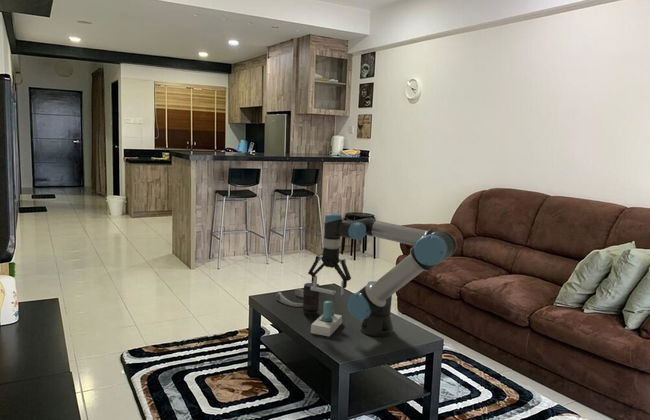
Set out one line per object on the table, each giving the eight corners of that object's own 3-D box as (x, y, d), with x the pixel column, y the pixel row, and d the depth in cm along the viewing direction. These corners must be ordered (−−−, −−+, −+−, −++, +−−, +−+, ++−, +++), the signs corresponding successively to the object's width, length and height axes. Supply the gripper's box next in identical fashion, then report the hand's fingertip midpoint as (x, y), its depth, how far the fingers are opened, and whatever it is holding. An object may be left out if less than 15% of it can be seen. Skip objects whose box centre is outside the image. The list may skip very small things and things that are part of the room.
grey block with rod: (341, 323, 240) (343, 295, 238) (329, 336, 224) (331, 306, 222) (324, 320, 243) (325, 292, 241) (310, 332, 226) (312, 302, 224)
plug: (333, 323, 235) (335, 301, 233) (330, 327, 230) (331, 304, 228) (323, 321, 236) (324, 299, 235) (319, 325, 232) (321, 302, 230)
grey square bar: (334, 295, 236) (334, 292, 236) (309, 290, 242) (310, 287, 242) (336, 294, 238) (336, 290, 238) (312, 289, 244) (312, 286, 244)
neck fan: (319, 303, 269) (320, 294, 268) (296, 309, 257) (296, 300, 256) (298, 295, 282) (298, 286, 281) (274, 300, 270) (274, 291, 269)
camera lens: (319, 311, 256) (320, 283, 254) (317, 316, 248) (319, 287, 246) (303, 309, 256) (305, 281, 254) (301, 315, 248) (302, 286, 246)
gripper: (359, 249, 228) (356, 294, 231) (308, 242, 236) (306, 285, 239) (355, 252, 221) (351, 298, 224) (302, 245, 229) (300, 289, 232)
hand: (328, 292), depth 231 cm, fingers open, 13 cm apart
